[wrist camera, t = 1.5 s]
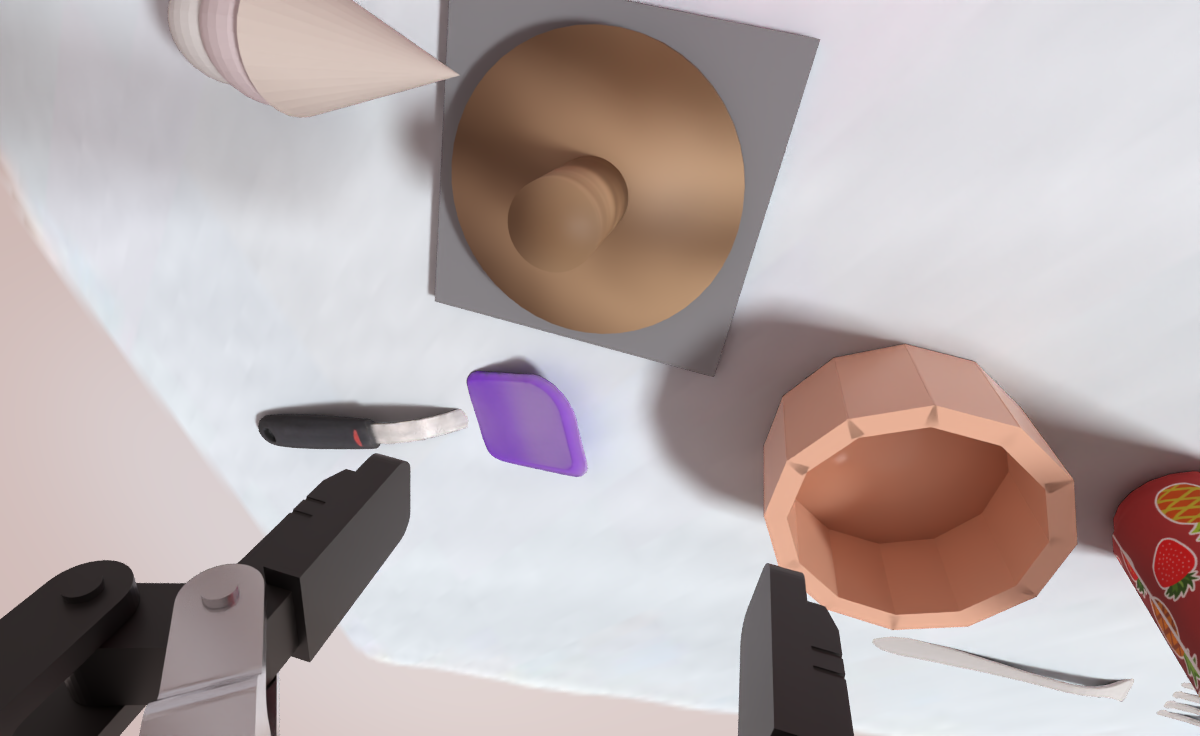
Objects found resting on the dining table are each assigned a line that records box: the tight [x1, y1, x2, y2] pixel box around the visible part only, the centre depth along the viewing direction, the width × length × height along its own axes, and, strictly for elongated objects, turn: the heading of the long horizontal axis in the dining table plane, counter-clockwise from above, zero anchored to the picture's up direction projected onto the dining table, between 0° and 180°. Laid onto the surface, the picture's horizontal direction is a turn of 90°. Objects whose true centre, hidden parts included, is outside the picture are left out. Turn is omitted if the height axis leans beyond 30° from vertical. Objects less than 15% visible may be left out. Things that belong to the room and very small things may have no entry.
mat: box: [435, 0, 820, 377], centre depth 30 cm, size 16×16×1 cm
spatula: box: [258, 371, 588, 477], centre depth 39 cm, size 24×7×2 cm, turn 101°
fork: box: [872, 637, 1200, 727], centre depth 36 cm, size 3×24×2 cm, turn 90°
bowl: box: [764, 344, 1078, 630], centre depth 30 cm, size 12×12×6 cm
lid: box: [452, 24, 745, 334], centre depth 26 cm, size 14×14×7 cm
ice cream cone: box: [168, 0, 460, 118], centre depth 27 cm, size 6×6×15 cm
